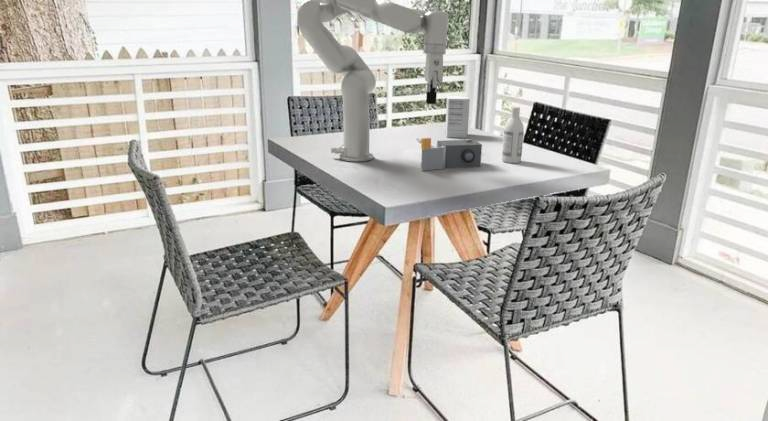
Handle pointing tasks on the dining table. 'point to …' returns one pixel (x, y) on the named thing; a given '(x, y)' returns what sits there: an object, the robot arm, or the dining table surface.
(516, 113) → the bath foam
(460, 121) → the supplement box
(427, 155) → the side door
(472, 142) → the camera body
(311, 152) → the dining table surface
